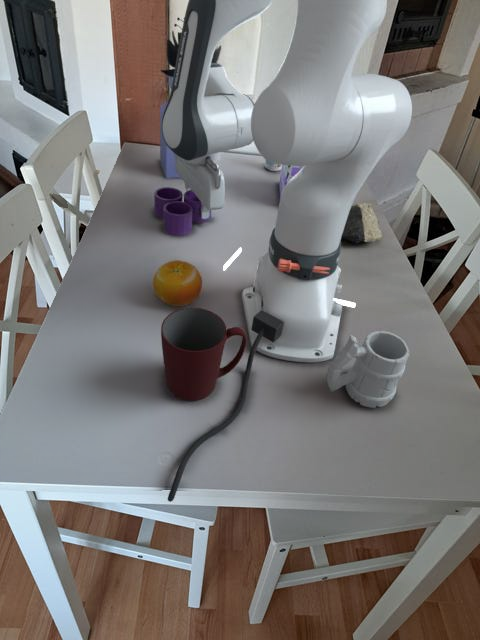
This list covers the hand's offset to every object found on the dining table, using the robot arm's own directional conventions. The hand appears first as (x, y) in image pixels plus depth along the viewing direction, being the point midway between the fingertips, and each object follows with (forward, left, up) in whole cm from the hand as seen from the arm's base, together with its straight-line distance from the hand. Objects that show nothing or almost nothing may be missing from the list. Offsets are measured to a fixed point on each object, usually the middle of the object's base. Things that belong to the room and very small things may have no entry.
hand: (197, 209), depth 106 cm
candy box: (+17, -22, -3) cm, 28 cm away
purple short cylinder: (0, 0, -2) cm, 2 cm away
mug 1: (-49, -8, -3) cm, 49 cm away
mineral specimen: (+1, -34, -3) cm, 34 cm away
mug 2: (-47, -32, -3) cm, 56 cm away
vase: (+25, +7, -3) cm, 27 cm away
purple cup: (0, +7, -2) cm, 7 cm away
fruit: (-30, -1, -3) cm, 30 cm away
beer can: (+33, -17, -3) cm, 37 cm away
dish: (-6, +4, -2) cm, 7 cm away
